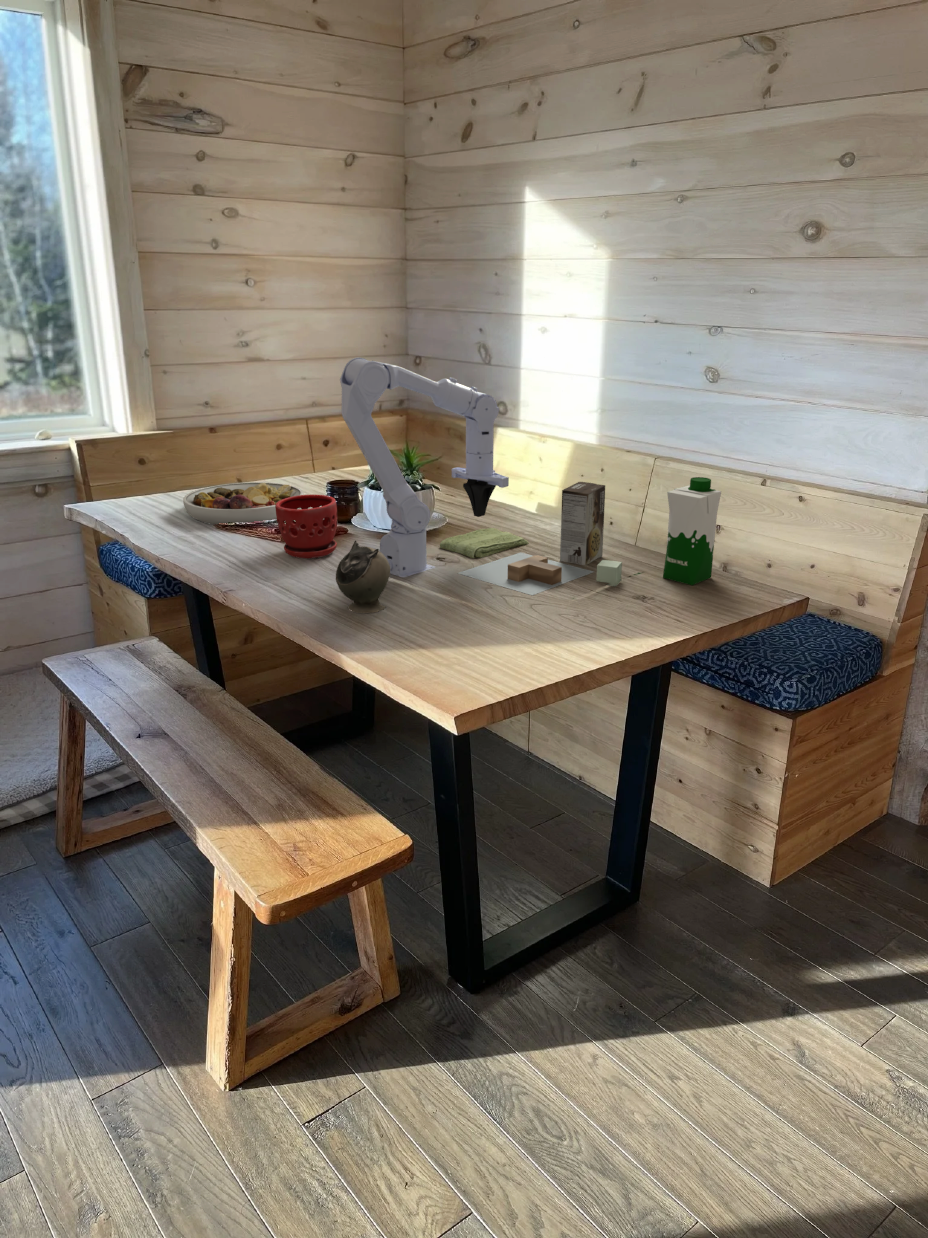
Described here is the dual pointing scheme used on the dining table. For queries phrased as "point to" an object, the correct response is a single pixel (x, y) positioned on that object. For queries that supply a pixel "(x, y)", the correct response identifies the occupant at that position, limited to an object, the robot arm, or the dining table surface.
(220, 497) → the bowl
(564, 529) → the coffee box
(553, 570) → the tee block
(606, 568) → the sage cube
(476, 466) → the robot arm
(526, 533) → the dining table surface
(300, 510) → the plant pot
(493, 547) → the washcloth
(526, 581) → the board
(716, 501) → the milk carton
